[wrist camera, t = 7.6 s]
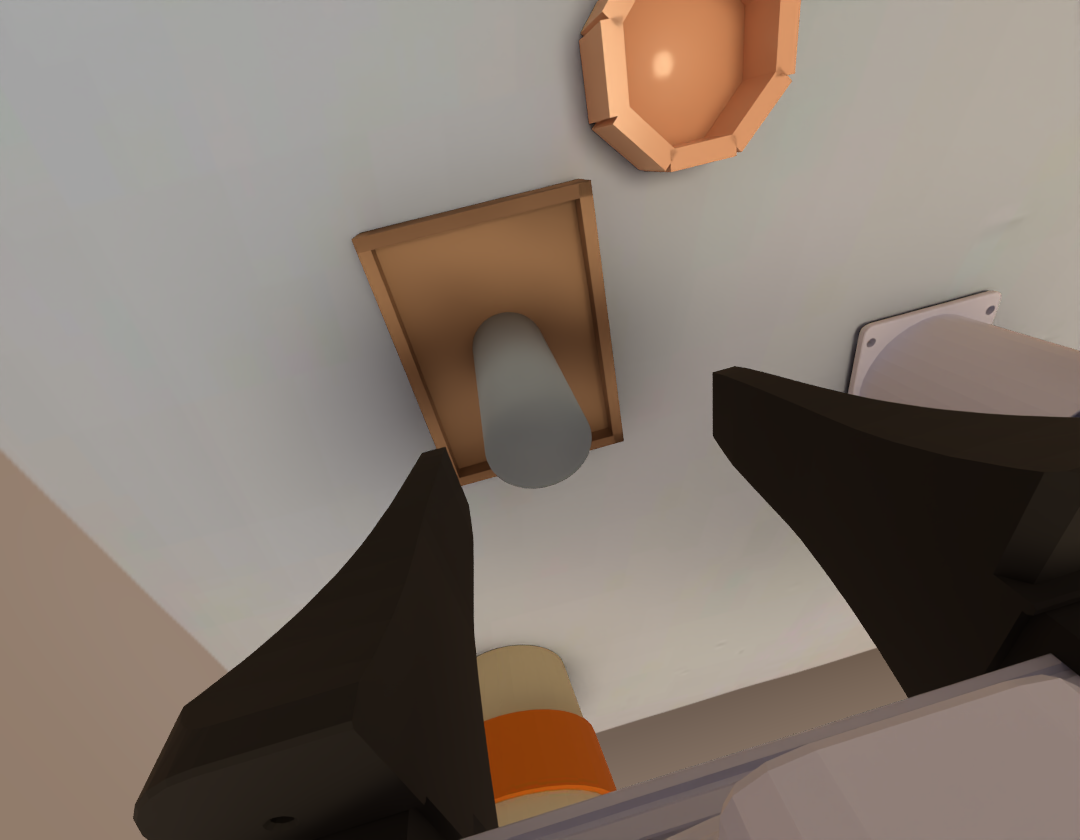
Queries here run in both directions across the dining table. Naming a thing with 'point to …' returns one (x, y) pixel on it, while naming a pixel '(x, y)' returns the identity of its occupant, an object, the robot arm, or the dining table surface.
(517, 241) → the tray
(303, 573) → the dining table surface
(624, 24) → the orange octagonal bowl
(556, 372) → the dowel
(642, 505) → the dining table surface
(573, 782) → the reusable coffee cup
